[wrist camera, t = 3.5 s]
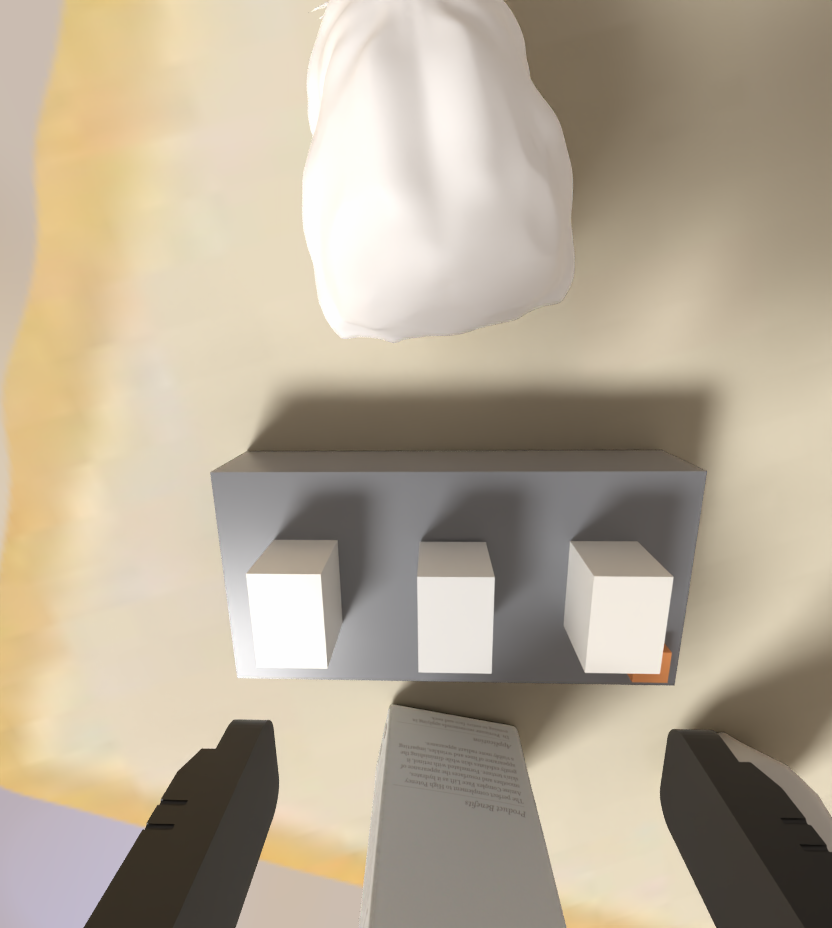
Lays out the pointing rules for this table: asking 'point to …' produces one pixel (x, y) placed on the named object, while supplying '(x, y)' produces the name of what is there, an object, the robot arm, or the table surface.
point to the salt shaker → (787, 786)
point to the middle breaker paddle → (455, 607)
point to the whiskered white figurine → (431, 171)
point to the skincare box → (455, 829)
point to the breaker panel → (459, 520)
